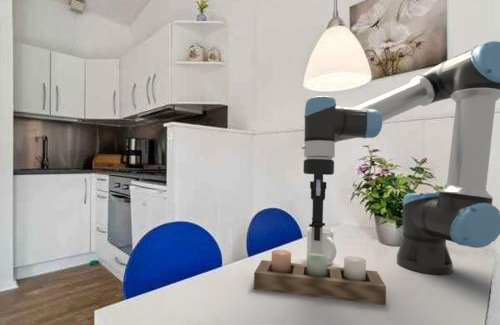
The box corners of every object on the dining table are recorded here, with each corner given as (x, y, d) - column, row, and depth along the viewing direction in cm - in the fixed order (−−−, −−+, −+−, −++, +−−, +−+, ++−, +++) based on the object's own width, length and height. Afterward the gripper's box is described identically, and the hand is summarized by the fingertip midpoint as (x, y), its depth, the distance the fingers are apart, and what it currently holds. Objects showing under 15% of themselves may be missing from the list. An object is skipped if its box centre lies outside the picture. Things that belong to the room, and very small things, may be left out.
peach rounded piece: (291, 267, 76) (291, 250, 76) (289, 274, 71) (290, 256, 71) (272, 265, 77) (273, 249, 77) (269, 272, 72) (270, 254, 72)
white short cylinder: (363, 274, 72) (364, 257, 72) (367, 282, 67) (367, 263, 67) (342, 272, 73) (343, 255, 73) (344, 280, 68) (345, 261, 68)
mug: (346, 268, 87) (346, 234, 87) (322, 271, 84) (323, 236, 84) (323, 256, 98) (323, 226, 98) (301, 259, 95) (302, 227, 95)
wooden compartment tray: (376, 287, 73) (376, 271, 73) (385, 304, 64) (386, 286, 64) (261, 274, 80) (261, 260, 80) (253, 288, 70) (254, 272, 70)
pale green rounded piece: (326, 271, 74) (327, 253, 74) (327, 278, 69) (327, 259, 69) (306, 269, 75) (307, 252, 75) (306, 276, 70) (306, 257, 70)
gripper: (304, 159, 80) (302, 244, 79) (302, 157, 67) (299, 258, 67) (332, 160, 78) (330, 247, 78) (335, 158, 65) (333, 262, 65)
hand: (316, 252), depth 72 cm, fingers closed
